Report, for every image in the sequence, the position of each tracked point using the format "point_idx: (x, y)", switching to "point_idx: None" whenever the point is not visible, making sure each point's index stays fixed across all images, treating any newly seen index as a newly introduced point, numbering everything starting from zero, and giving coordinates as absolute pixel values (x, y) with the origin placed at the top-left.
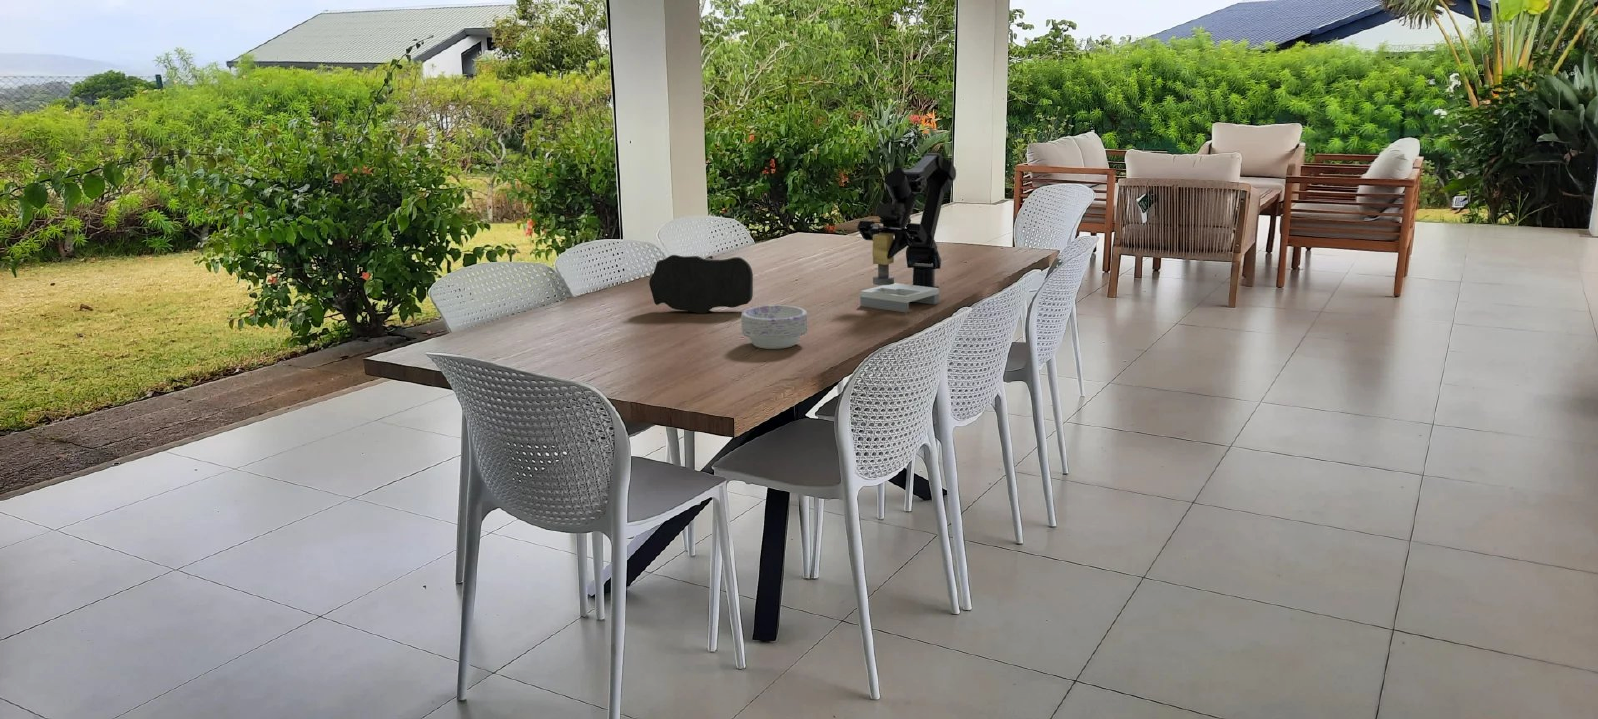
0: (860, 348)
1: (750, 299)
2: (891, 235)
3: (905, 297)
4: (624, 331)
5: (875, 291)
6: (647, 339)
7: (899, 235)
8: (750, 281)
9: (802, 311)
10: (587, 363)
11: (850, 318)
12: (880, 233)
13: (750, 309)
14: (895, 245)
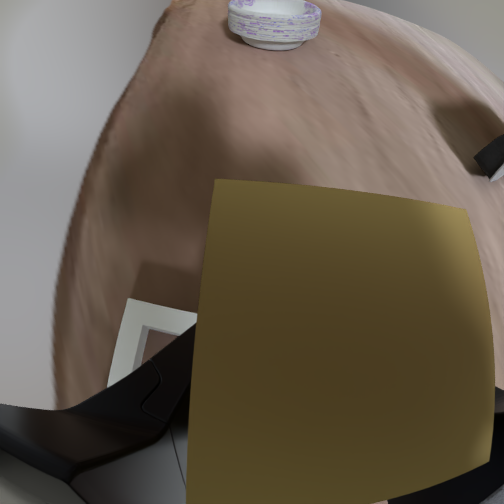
0: (154, 56)
1: (483, 166)
2: (191, 409)
3: (133, 299)
4: (451, 74)
5: None
6: (406, 51)
7: (34, 412)
8: (498, 137)
9: (242, 9)
10: (364, 13)
11: None
12: (473, 422)
13: (314, 8)
14: (143, 371)
